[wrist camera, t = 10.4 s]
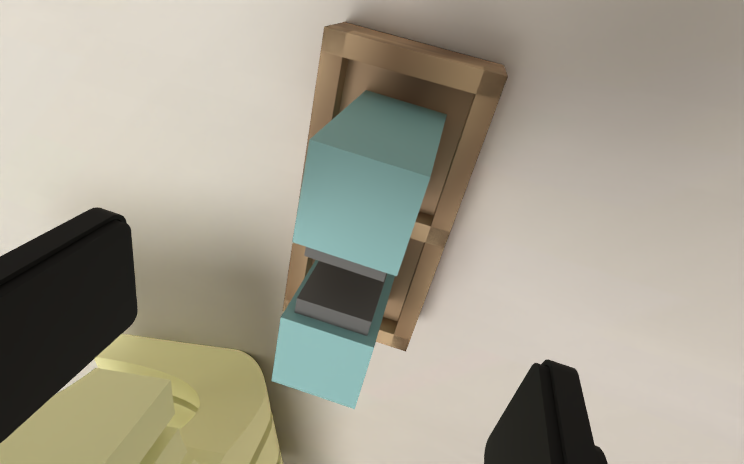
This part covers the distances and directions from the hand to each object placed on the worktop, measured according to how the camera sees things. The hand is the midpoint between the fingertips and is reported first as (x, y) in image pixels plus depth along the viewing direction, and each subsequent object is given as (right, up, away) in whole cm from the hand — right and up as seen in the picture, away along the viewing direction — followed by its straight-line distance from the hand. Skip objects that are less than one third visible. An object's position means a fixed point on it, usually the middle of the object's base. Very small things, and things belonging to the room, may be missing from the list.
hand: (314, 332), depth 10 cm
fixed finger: (+1, 0, +16) cm, 16 cm away
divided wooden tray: (+2, +5, +15) cm, 16 cm away
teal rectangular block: (+2, +7, +12) cm, 14 cm away
